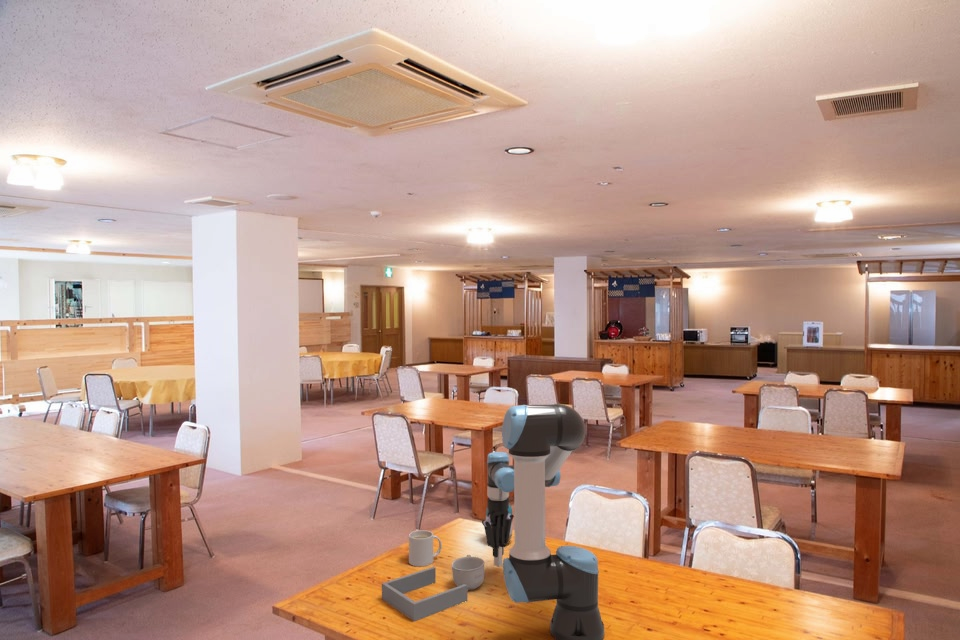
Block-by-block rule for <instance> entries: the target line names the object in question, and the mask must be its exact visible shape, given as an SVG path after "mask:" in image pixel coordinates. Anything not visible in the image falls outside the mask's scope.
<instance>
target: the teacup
mask: <svg viewBox="0 0 960 640" xmlns="http://www.w3.org/2000/svg"><path fill="white" fill-rule="evenodd" d="M451 570H452V571H451V573H452V579H453V582H454V585H456V587H458V586H461V585H464V584H466V585H467V591H472V590H476V589H478V588H479V587H480V586H481V584H483V582H484V580H485V560H484V559H482V558H480V557H478V556H472V555H470V554H467V555H466V556H463V557H459V558H457V559H455V560H453V561H452V562H451Z"/></svg>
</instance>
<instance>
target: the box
mask: <svg viewBox="0 0 960 640" xmlns="http://www.w3.org/2000/svg"><path fill="white" fill-rule="evenodd" d="M436 570H437V569H436V567H435V566H432V567H428V568H426V569H422V570H419V571H415V572H413V573H410V574H407V575H403V576H401V577H398V578H394V579H391V580H388V581H385V582H382V583H381V600H382V601H384V602H385V603H387V604H388V605H390V606H391V607H392V608H394V609H396V611H398V612H400V613H402V614H403V615H404V616H406V617H408V618H409V619H410V620H411V621H413V622H416V620H417V621H419V620H421V619H425V618H427V617H429V616H432V615H434V614H437V613H441V612H443V611H445V610H448V609H450V607H451V608H453V607H455V605H456V606H457V604H458V605H461V604H463V603H462V602H464V603H466V602H468V590H467V585H466V584H464V585H461V586H456V587H453V588H450V589H447V590H445V591H443V592H438V593H436V594H432V595H429V596H428V597H424V598H422V599H420V600H416V601H415V600H413V599H411V598H410V597H408V596H407V595H405V594H407V593H409V592H412V591H416V590H418V589H421V588H424V587H427V586H430V585H433V584H435V582H436V581H437V580H436V575H437V573H436ZM432 583H433V584H432ZM465 601H466V602H465ZM460 603H461V604H460ZM452 606H453V607H452Z"/></svg>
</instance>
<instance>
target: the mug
mask: <svg viewBox="0 0 960 640" xmlns="http://www.w3.org/2000/svg"><path fill="white" fill-rule="evenodd" d="M434 539H436V540H437V541H438V545H439V546H438V549H437V550H436V551H435V552H434ZM442 544H443V543H442V541H441V539H440V538H439V536H437V535H434V533H433V532H432V531H430V530H426V529H423V530H421V529H419V530H413V531H411V532H410V533H408V563H409V565H411V566H414V567H426V566H430V565H432V564H433V563H434V558H435V557H437V556H439V555H440V553H441V550H442V547H443V545H442Z"/></svg>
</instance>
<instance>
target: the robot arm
mask: <svg viewBox="0 0 960 640" xmlns="http://www.w3.org/2000/svg"><path fill="white" fill-rule="evenodd" d="M585 423H586V422H585V421H584V419H583V417H582V416H581V414H580V413H579V412H578V411H576V409H574V408H573V407H570V406H568V405H566V404H561V403H559V404H558V403H554V404H521V405H514V406H513V405H512V406H510V407H509V408H508V409H507V410H506V412H505V414H504V417H503V421H502V427H501V428H502V429H501V437H502V440H501V441H502V445H503V448H504V449H507V450H508V452H505V451H504V452H503V451H493V452H490V453H488V454H487V460H486V461H487V462H486V466H487V467H486V469H487V471H486V472H487V473H486V474H487V478H486V480H487V481H486V483H487V486H486V488H487V490H486V491H487V494H486V496H487V498H486V499H487V501H486V509H487V508H488V511H489V512H488V515H487V517H488V518H487V519H486V518H485V520H484V519H483V520H482V521H481V524H482V525H483V527H484V533H485V537H486V542H487V546H489V547H490V548H492V557H493V566H496V567H497V568H501V567H502V572H503V578H504V579H503V580H504V584H505V587H506V590H507V593H508V596H509V598H510V600H511V601H512V602H514V603H516V604H517V603H526V604H529V603H534V602H544V601H553V600H554V601H555V600H556V603H555V604H556V605H555V606H554V610H553V613H552V616H551V620H550V624H549V625H550V626H549V627H550V628H549V630H550V634H551V636H552V637H553V638H554V639H555V640H603V639H604V638H605V624H604V621H603V620H602V616H601V612H600V609H599V608H600V607H599V573H600V571H599V563H598V557H597V556H596V555H595V553H593V552H592V551H591V550H588V549H587V548H583V547H580V546H575V545H561V546H559V547H557V549H556V551H555V554H552V552H551V549H550V548H549V547H548V546H547V545H546V488H550V487H556V486H558V485H559V484H560V482H561V467H562V466H563V465H564V464H565V462H566V461H567V459H568V458H569V456H570V455H571V453H572V452H573V451H576V450H577V449H579V448H580V447H581V446H582V444H583V443H584V440H585V438H586V434H587V428H586V424H585ZM510 457H511V458H512V459H513V465H510ZM512 492H513V493H514V494H513V495H514V497H513V501H514V503H513V504H514V505H513V506H514V507H513V508H514V514H513V513H512V514H513V515H512V514H509V512H508V509H509V504H510V498H509V496H510V493H512ZM512 520H513V522H514V523H513V524H514V544H513V545H512V547H510V549H509V551H508V552H509V553H508V554H509V555H508V556H509V557H506V558H504V559H503V555H504V548H506V547H507V544H508V543H509V542H508V540H509V535H510V529H511V523H512ZM490 522H491V523H490ZM491 527H492V528H491Z"/></svg>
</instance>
